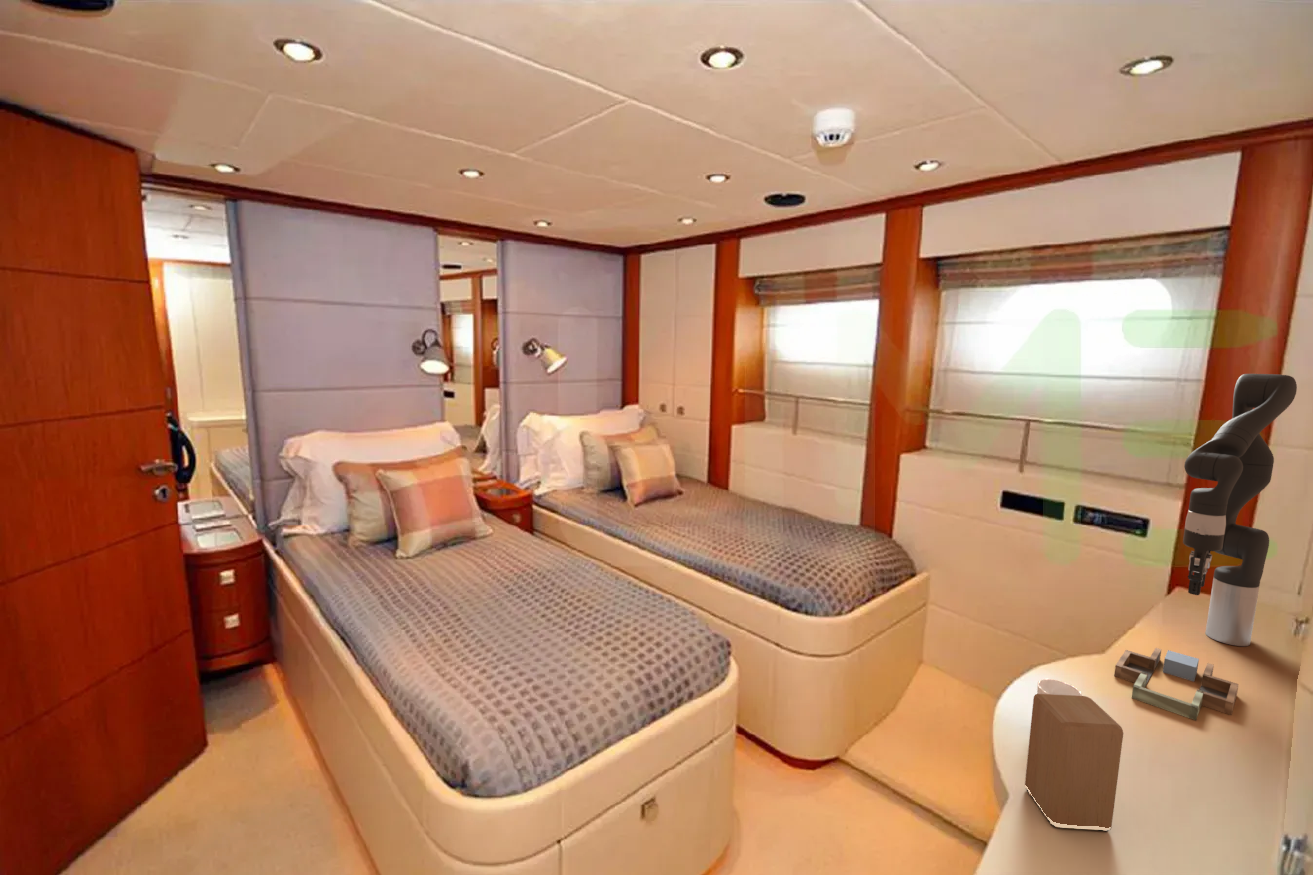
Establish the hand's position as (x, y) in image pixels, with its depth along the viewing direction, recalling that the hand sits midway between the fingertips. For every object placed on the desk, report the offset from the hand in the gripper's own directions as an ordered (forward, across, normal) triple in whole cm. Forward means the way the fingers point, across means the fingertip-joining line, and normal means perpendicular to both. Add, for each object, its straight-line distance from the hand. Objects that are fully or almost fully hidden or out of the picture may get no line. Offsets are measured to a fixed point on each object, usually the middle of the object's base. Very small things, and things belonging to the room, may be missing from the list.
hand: (1196, 589), depth 152 cm
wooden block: (+20, +84, -6) cm, 87 cm away
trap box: (+20, +18, 0) cm, 27 cm away
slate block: (+20, +9, 0) cm, 22 cm away
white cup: (+20, +60, -14) cm, 65 cm away
